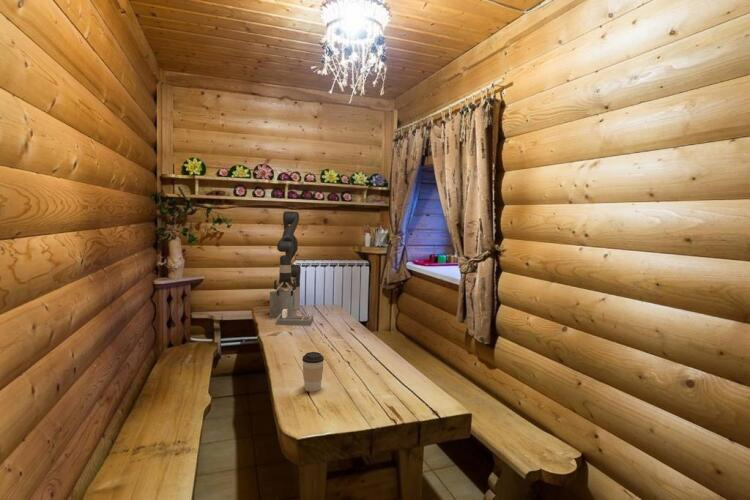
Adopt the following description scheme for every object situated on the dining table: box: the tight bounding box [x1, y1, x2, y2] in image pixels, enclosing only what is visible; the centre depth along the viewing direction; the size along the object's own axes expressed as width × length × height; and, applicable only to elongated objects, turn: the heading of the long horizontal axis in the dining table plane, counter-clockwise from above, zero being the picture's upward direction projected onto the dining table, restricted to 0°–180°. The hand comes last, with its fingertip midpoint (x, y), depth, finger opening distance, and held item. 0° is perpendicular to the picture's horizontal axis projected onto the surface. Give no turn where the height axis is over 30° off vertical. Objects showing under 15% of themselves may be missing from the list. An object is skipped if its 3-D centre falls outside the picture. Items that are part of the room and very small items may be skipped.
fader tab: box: [282, 309, 287, 318], centre depth 274 cm, size 5×2×5 cm, turn 0°
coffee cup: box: [301, 351, 325, 393], centre depth 174 cm, size 9×9×15 cm
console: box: [276, 313, 314, 327], centre depth 275 cm, size 12×22×4 cm, turn 90°
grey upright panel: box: [269, 287, 294, 318], centre depth 290 cm, size 16×4×20 cm, turn 109°
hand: (285, 296), depth 273 cm, fingers open, 8 cm apart
